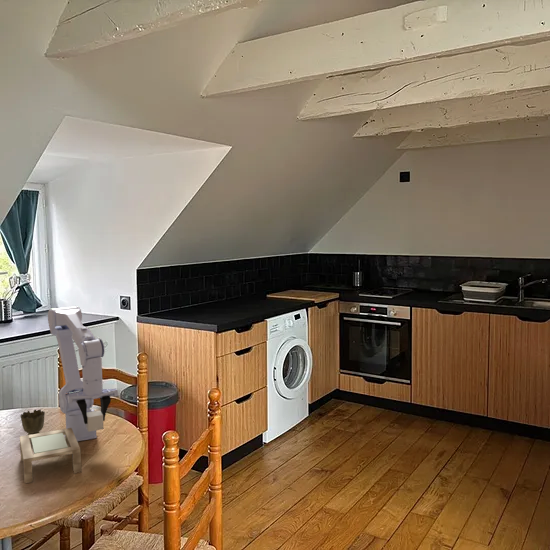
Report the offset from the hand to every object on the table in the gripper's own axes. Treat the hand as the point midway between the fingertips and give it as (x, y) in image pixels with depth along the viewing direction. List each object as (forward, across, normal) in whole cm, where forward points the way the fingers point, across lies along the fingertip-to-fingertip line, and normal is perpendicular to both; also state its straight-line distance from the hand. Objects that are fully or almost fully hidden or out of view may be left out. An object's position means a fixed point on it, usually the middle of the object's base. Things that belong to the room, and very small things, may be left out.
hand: (94, 421), depth 176 cm
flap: (+7, -13, -2) cm, 15 cm away
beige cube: (+2, 0, 0) cm, 2 cm away
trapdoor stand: (+10, -13, -2) cm, 17 cm away
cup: (+11, -16, +24) cm, 31 cm away
